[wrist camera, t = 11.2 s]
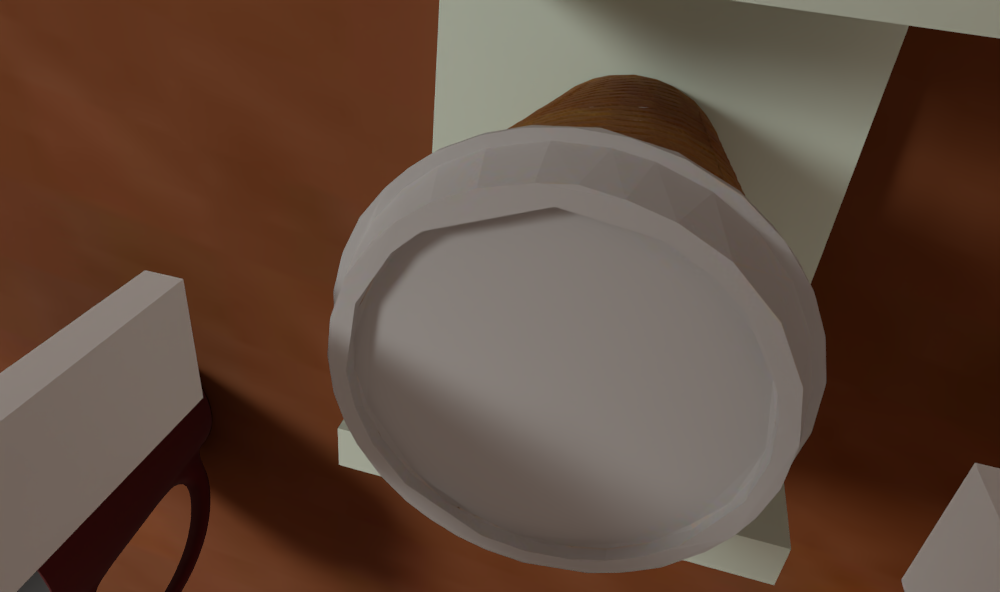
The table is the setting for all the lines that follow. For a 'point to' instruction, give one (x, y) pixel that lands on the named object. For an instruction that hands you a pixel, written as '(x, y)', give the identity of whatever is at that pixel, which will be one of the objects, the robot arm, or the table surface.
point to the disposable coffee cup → (579, 336)
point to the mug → (136, 513)
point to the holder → (724, 99)
